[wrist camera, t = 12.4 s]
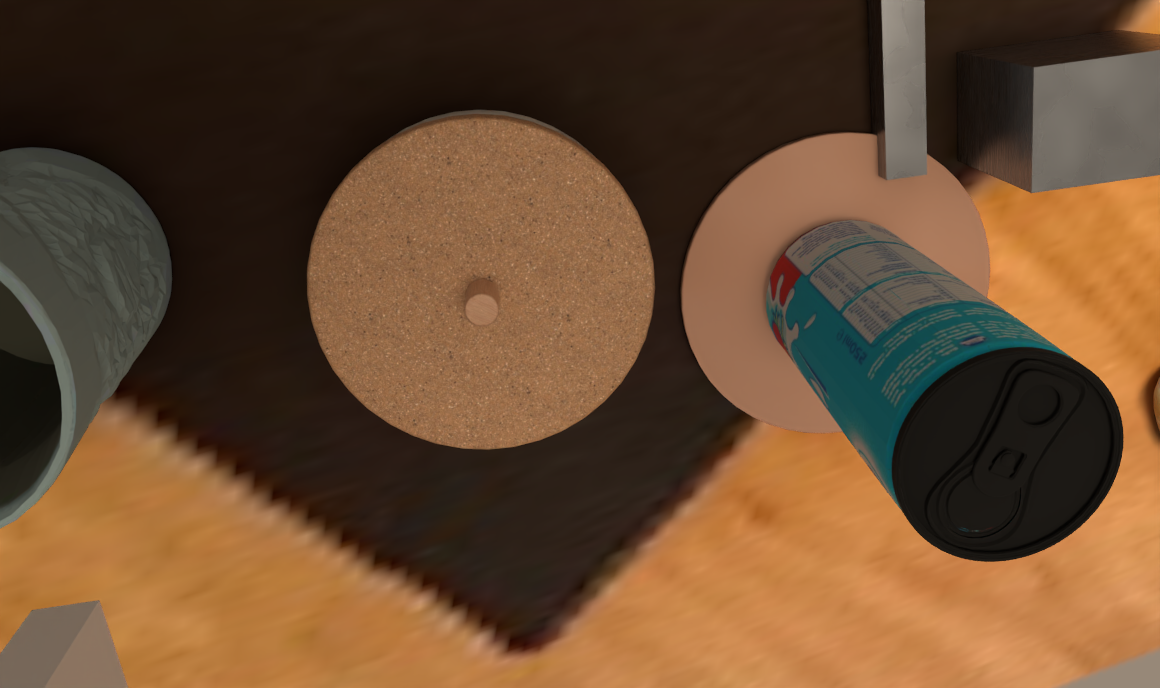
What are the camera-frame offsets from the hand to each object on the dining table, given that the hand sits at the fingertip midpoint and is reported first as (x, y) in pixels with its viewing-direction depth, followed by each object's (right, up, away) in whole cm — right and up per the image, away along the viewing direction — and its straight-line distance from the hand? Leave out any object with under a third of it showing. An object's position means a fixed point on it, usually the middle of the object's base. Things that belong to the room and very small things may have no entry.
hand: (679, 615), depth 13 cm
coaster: (+9, +5, +29) cm, 31 cm away
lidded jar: (-5, +7, +28) cm, 29 cm away
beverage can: (+9, +5, +29) cm, 31 cm away
